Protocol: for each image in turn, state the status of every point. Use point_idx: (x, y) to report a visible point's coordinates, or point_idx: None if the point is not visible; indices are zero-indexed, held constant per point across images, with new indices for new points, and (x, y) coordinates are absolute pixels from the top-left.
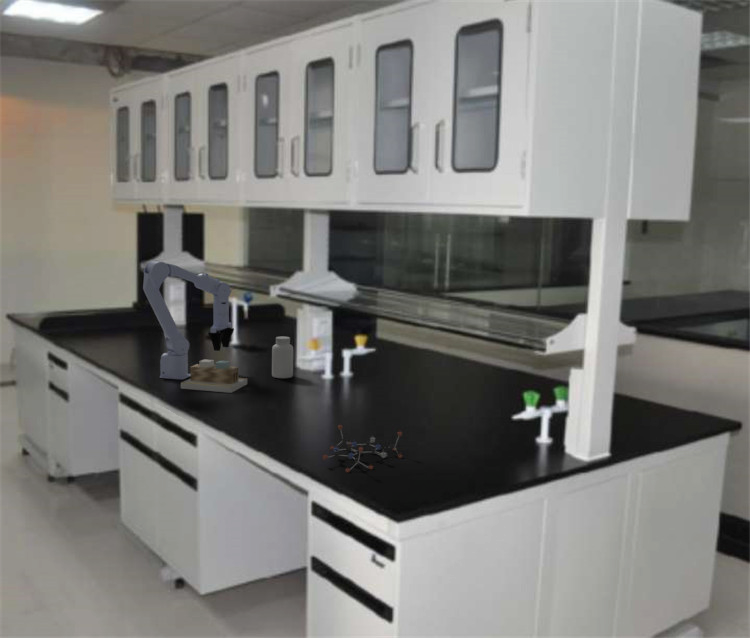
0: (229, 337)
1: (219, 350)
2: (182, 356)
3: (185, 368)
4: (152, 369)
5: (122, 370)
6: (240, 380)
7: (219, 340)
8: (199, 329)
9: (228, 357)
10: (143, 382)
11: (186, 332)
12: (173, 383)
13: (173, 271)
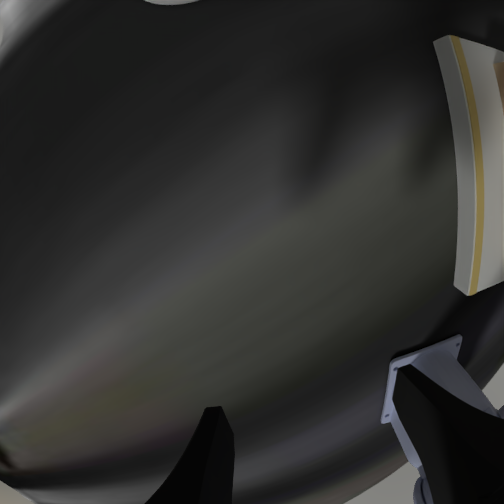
0: (203, 484)
1: (407, 365)
2: (489, 404)
3: (452, 371)
4: (332, 471)
5: (364, 484)
6: (484, 56)
7: (484, 414)
8: (6, 477)
9: (43, 406)
10: (483, 382)
11: (27, 489)
12: (495, 319)
13: None
